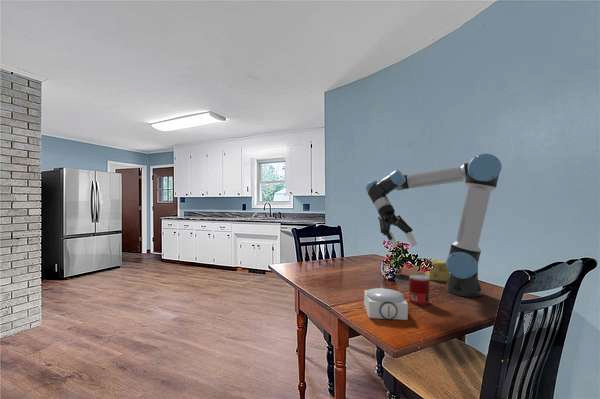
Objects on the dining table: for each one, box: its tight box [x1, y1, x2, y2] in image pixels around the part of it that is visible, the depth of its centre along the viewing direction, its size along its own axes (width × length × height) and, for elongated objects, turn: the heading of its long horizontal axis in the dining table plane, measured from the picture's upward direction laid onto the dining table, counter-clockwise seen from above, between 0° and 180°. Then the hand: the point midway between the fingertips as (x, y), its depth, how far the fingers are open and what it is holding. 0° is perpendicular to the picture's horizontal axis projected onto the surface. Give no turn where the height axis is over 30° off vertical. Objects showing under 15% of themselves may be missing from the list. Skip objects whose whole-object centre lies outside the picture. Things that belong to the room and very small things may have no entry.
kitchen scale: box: [363, 287, 409, 321], centre depth 115 cm, size 14×15×7 cm
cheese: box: [424, 258, 450, 282], centre depth 166 cm, size 10×11×10 cm
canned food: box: [408, 274, 430, 306], centre depth 127 cm, size 8×8×11 cm
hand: (405, 245), depth 134 cm, fingers open, 13 cm apart
